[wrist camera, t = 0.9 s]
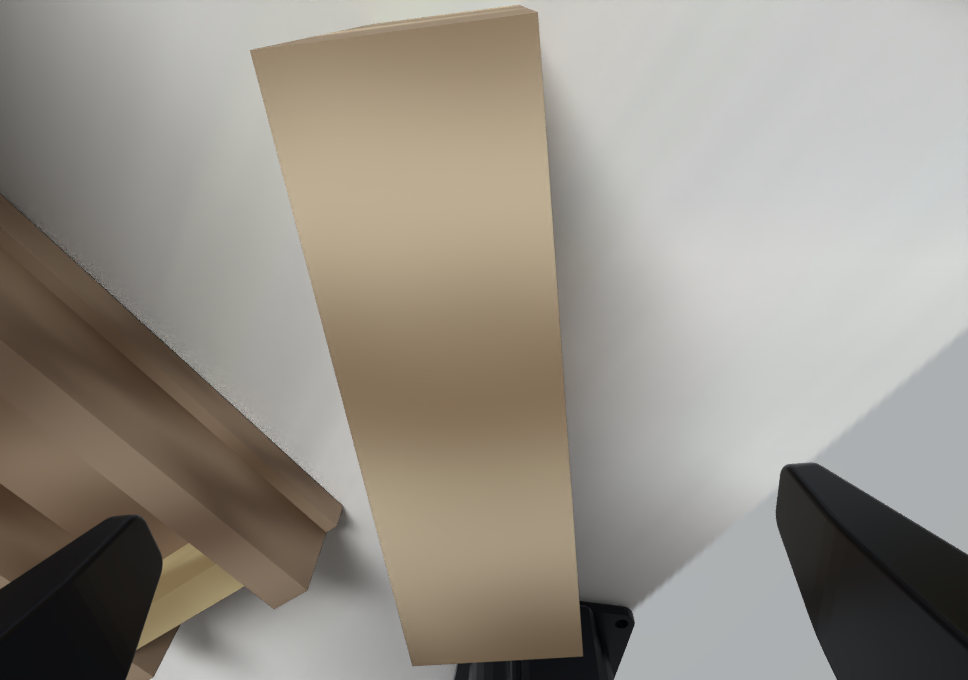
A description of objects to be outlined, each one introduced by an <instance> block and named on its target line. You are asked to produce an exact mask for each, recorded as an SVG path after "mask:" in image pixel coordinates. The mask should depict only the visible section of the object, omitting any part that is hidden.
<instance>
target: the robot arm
mask: <svg viewBox="0 0 968 680" xmlns="http://www.w3.org/2000/svg"><path fill="white" fill-rule="evenodd" d="M776 521H777V526H778V529H779V532H780V535H781V538H782V541H783V544H784V546H785V549H786V552H787V555H788V558H789V561H790V564H791V566H792V569H793V572H794V575H795V577H796V581H797V583H798V586H799V589H800V592H801V594H802V598H803V600H804V603H805V606H806V609H807V612H808V614H809V617H810V620H811V623H812V625H813V628H814V631H815V633H816V636H817V638H818V640H819V642H820V645H821V647H822V649H823V651H824V654H825V656H826V657H827V660H828V662H829V664H830V666H831V668H832V670H833V672H834V674H835V676H836V678H837V680H968V555H967V554H966V553H964V552H963V551H961V550H959V549H958V548H956V547H955V546H953V545H951V544H949V543H948V542H946V541H945V540H943V539H941V538H939V537H938V536H936V535H935V534H933V533H931V532H930V531H928V530H926V529H925V528H923V527H922V526H920V525H918V524H916V523H915V522H913V521H912V520H910V519H908V518H907V517H905V516H903V515H902V514H900V513H898V512H897V511H895V510H893V509H892V508H890V507H889V506H887V505H885V504H884V503H882V502H880V501H879V500H877V499H875V498H874V497H872V496H870V495H869V494H867V493H865V492H864V491H862V490H860V489H859V488H857V487H856V486H854V485H852V484H851V483H849V482H847V481H845V480H844V479H842V478H841V477H839V476H837V475H836V474H834V473H832V472H831V471H829V470H828V469H826V468H824V467H822V466H821V465H819V464H817V463H798V464H788V465H786V466H784V467H783V468H782V470H781V473H780V480H779V488H778V497H777V505H776ZM162 567H163V559H162V554H161V552H160V550H159V547H158V545H157V543H156V541H155V539H154V537H153V535H152V533H151V531H150V529H149V526H148V524H147V522H146V521H145V519H144V518H143V517H142V516H140V515H137V514H130V515H117V516H111V517H109V518H107V519H105V520H104V521H102V522H101V523H99V524H98V525H96V526H95V527H93V528H92V529H90V530H89V531H87V532H85V533H84V534H82V535H81V536H79V537H78V538H76V539H75V540H73V541H72V542H70V543H69V544H67V545H66V546H64V547H63V548H61V549H60V550H58V551H57V552H55V553H54V554H52V555H51V556H49V557H48V558H46V559H45V560H43V561H42V562H40V563H39V564H37V565H36V566H34V567H33V568H31V569H30V570H28V571H27V572H25V573H24V574H22V575H21V576H19V577H17V578H16V579H14V580H13V581H11V582H10V583H8V584H7V585H5V586H4V587H2V588H1V589H0V680H126V678H127V675H128V673H129V670H130V667H131V664H132V662H133V659H134V656H135V653H136V650H137V647H138V644H139V641H140V637H141V634H142V631H143V628H144V625H145V622H146V619H147V616H148V613H149V610H150V607H151V604H152V601H153V598H154V594H155V591H156V588H157V585H158V582H159V579H160V576H161V573H162ZM579 605H580V619H581V633H582V647H583V656H581V657H563V658H546V659H528V660H511V661H493V662H476V663H459V664H457V665H456V670H455V675H454V680H614V677H615V675H616V672H617V670H618V667H619V664H620V662H621V659H622V656H623V654H624V651H625V649H626V646H627V643H628V641H629V638H630V635H631V633H632V630H633V627H634V623H635V622H634V617H633V613H632V611H631V610H630V609H628V608H626V607H621V606H613V605H604V604H596V603H587V602H579Z"/></svg>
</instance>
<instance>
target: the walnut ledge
mask: <svg viewBox="0 0 968 680" xmlns="http://www.w3.org/2000/svg"><path fill="white" fill-rule="evenodd" d="M342 507H343V506H342V505H341V504H340V503H339V502H338V501H336V500H335V499H334V498H333V497H332V496H331V495H330V494H329V493H328V492H327V491H326V490H324V489H323V488H322V487H321V486H320V485H319V484H318V483H317V482H316V481H315V480H313V479H312V478H311V477H310V476H309V475H308V474H307V473H306V472H305V471H304V470H302V469H301V468H300V467H299V466H298V465H297V464H296V463H295V462H294V461H293V460H292V459H290V458H289V457H288V456H287V455H286V454H285V453H284V452H283V451H282V450H281V449H279V448H278V447H277V446H276V445H275V444H274V443H273V442H272V441H271V440H270V439H268V438H267V437H266V436H265V435H264V434H263V433H262V432H261V431H260V430H259V429H258V428H256V427H255V426H254V425H253V424H252V423H251V422H250V421H249V420H248V419H247V418H245V417H244V416H243V415H242V414H241V413H240V412H239V411H238V410H237V409H236V408H234V407H233V406H232V405H231V404H230V403H229V402H228V401H227V400H226V399H225V398H224V397H222V396H221V395H220V394H219V393H218V392H217V391H216V390H215V389H214V388H213V387H211V386H210V385H209V384H208V383H207V382H206V381H205V380H204V379H203V378H202V377H200V376H199V375H198V374H197V373H196V372H195V371H194V370H193V369H192V368H191V367H190V366H188V365H187V364H186V363H185V362H184V361H183V360H182V359H181V358H180V357H179V356H177V355H176V354H175V353H174V352H173V351H172V350H171V349H170V348H169V347H168V346H166V345H165V344H164V343H163V342H162V341H161V340H160V339H159V338H158V337H157V336H156V335H154V334H153V333H152V332H151V331H150V330H149V329H148V328H147V327H146V326H145V325H143V324H142V323H141V322H140V321H139V320H138V319H137V318H136V317H135V316H134V315H132V314H131V313H130V312H129V311H128V310H127V309H126V308H125V307H124V306H123V305H122V304H120V303H119V302H118V301H117V300H116V299H115V298H114V297H113V296H112V295H111V294H109V293H108V292H107V291H106V290H105V289H104V288H103V287H102V286H101V285H100V284H98V283H97V282H96V281H95V280H94V279H93V278H92V277H91V276H90V275H89V274H88V273H86V272H85V271H84V270H83V269H82V268H81V267H80V266H79V265H78V264H77V263H75V262H74V261H73V260H72V259H71V258H70V257H69V256H68V255H67V254H66V253H65V252H63V251H62V250H61V249H60V248H59V247H58V246H57V245H56V244H55V243H54V242H52V241H51V240H50V239H49V238H48V237H47V236H46V235H45V234H44V233H43V232H41V231H40V230H39V229H38V228H37V227H36V226H35V225H34V224H33V223H32V222H31V221H29V220H28V219H27V218H26V217H25V216H24V215H23V214H22V213H21V212H20V211H18V210H17V209H16V208H15V207H14V206H13V205H12V204H11V203H10V202H9V201H7V200H6V199H5V198H4V197H3V196H2V195H1V194H0V589H1V588H2V587H4V586H5V585H7V584H8V583H10V582H11V581H13V580H14V579H16V578H17V577H19V576H21V575H22V574H24V573H25V572H27V571H28V570H30V569H31V568H33V567H34V566H36V565H37V564H39V563H40V562H42V561H43V560H45V559H46V558H48V557H49V556H51V555H52V554H54V553H55V552H57V551H58V550H60V549H61V548H63V547H64V546H66V545H67V544H69V543H70V542H72V541H73V540H75V539H76V538H78V537H79V536H81V535H82V534H84V533H85V532H87V531H89V530H90V529H92V528H93V527H95V526H96V525H98V524H99V523H101V522H102V521H104V520H105V519H107V518H109V517H111V516H117V515H130V514H137V515H140V516H142V517H143V518H144V519H145V521H146V522H147V524H148V526H149V529H150V531H151V533H152V535H153V537H154V539H155V541H156V543H157V545H158V547H159V550H160V552H161V554H162V559H163V567H162V573H161V576H160V579H159V582H158V585H157V588H156V591H155V594H154V598H153V601H152V604H151V607H150V610H149V613H148V616H147V619H146V622H145V625H144V628H143V631H142V634H141V637H140V641H139V644H138V647H137V650H136V653H135V656H134V659H133V662H132V664H131V667H130V670H129V673H128V675H127V678H126V680H149V679H151V678H153V677H154V675H155V673H156V671H157V669H158V667H159V666H160V664H161V662H162V660H163V658H164V656H165V654H166V652H167V650H168V648H169V646H170V644H171V642H172V640H173V638H174V636H175V634H176V632H177V630H178V628H179V626H180V624H181V623H183V622H185V621H186V620H188V619H190V618H191V617H193V616H195V615H197V614H198V613H200V612H202V611H203V610H205V609H207V608H208V607H210V606H212V605H214V604H215V603H217V602H219V601H220V600H222V599H224V598H225V597H227V596H229V595H231V594H232V593H234V592H236V591H237V590H239V589H241V588H242V587H244V586H245V587H246V588H247V589H249V590H250V591H251V592H253V593H254V594H255V595H256V596H258V597H259V598H260V599H262V600H263V601H264V602H265V603H267V604H268V605H269V606H270V607H272V608H273V609H275V608H277V607H279V606H281V605H283V604H284V603H286V602H288V601H290V600H291V599H293V598H295V597H297V596H299V595H300V594H302V593H304V592H306V591H307V590H308V587H309V584H310V581H311V578H312V575H313V572H314V569H315V566H316V563H317V559H318V556H319V553H320V550H321V547H322V544H323V541H324V538H325V535H326V532H328V531H330V530H331V529H333V528H335V527H336V526H337V524H338V520H339V517H340V514H341V511H342Z"/></svg>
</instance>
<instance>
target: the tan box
mask: <svg viewBox="0 0 968 680" xmlns="http://www.w3.org/2000/svg"><path fill="white" fill-rule="evenodd" d="M250 52H251V56H252V60H253V64H254V67H255V71H256V75H257V79H258V83H259V86H260V90H261V94H262V98H263V102H264V105H265V109H266V113H267V117H268V121H269V124H270V128H271V132H272V136H273V139H274V143H275V147H276V151H277V155H278V158H279V162H280V166H281V170H282V174H283V177H284V181H285V185H286V189H287V193H288V196H289V200H290V204H291V208H292V211H293V215H294V219H295V223H296V227H297V230H298V234H299V238H300V242H301V246H302V249H303V253H304V257H305V261H306V265H307V268H308V272H309V276H310V280H311V283H312V287H313V291H314V295H315V299H316V302H317V306H318V310H319V314H320V318H321V321H322V325H323V329H324V333H325V337H326V340H327V344H328V348H329V352H330V356H331V359H332V363H333V367H334V371H335V374H336V378H337V382H338V386H339V390H340V393H341V397H342V401H343V405H344V409H345V412H346V416H347V420H348V424H349V428H350V431H351V435H352V439H353V443H354V446H355V450H356V454H357V458H358V462H359V465H360V469H361V473H362V477H363V481H364V484H365V488H366V492H367V496H368V500H369V503H370V507H371V511H372V515H373V518H374V522H375V526H376V530H377V534H378V537H379V541H380V545H381V549H382V553H383V556H384V560H385V564H386V568H387V572H388V575H389V579H390V583H391V587H392V590H393V594H394V598H395V602H396V606H397V609H398V613H399V617H400V621H401V625H402V628H403V632H404V636H405V640H406V644H407V647H408V651H409V655H410V659H411V662H412V666H424V665H441V664H459V663H476V662H493V661H511V660H528V659H546V658H563V657H581V656H583V647H582V633H581V619H580V605H579V590H578V576H577V562H576V548H575V534H574V519H573V505H572V491H571V477H570V463H569V449H568V434H567V420H566V406H565V392H564V378H563V363H562V349H561V335H560V321H559V307H558V293H557V278H556V264H555V250H554V236H553V222H552V207H551V193H550V179H549V165H548V151H547V136H546V122H545V108H544V94H543V80H542V66H541V51H540V37H539V23H538V12H536V11H533V10H530V9H528V8H525V7H523V6H520V5H513V6H505V7H498V8H490V9H483V10H475V11H468V12H460V13H453V14H445V15H438V16H430V17H422V18H415V19H407V20H400V21H392V22H385V23H377V24H371V25H366V26H362V27H357V28H352V29H348V30H343V31H338V32H333V33H329V34H324V35H319V36H315V37H310V38H305V39H300V40H296V41H291V42H286V43H282V44H277V45H272V46H267V47H263V48H258V49H253V50H250Z"/></svg>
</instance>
